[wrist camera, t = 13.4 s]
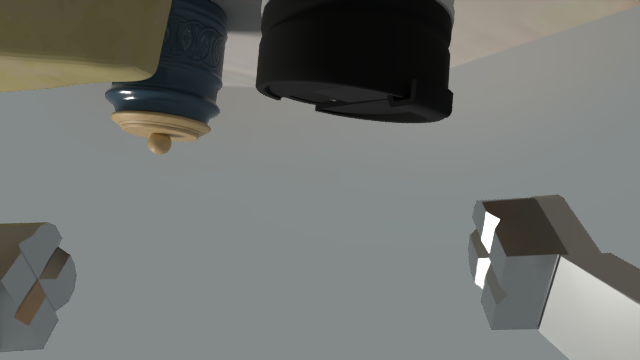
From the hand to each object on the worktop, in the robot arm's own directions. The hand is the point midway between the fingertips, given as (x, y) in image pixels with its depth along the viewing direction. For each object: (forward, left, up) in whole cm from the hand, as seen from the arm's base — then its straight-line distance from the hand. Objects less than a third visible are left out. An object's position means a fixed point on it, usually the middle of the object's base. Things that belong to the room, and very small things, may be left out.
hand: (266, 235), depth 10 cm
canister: (+38, -35, -25) cm, 57 cm away
